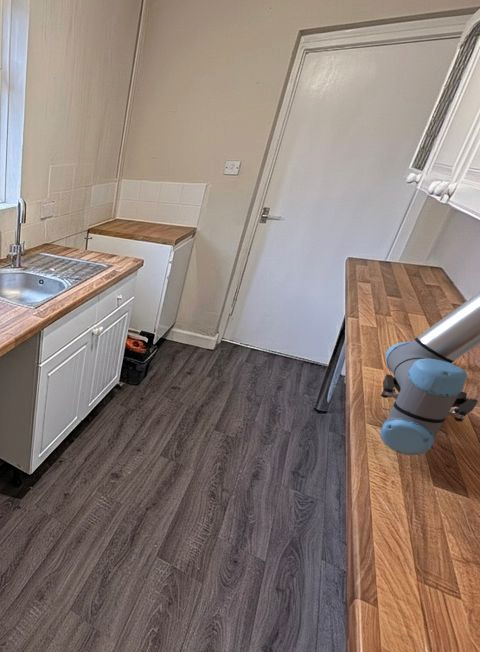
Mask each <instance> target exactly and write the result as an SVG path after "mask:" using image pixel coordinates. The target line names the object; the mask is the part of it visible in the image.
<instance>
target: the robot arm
mask: <svg viewBox="0 0 480 652" xmlns="http://www.w3.org/2000/svg"><path fill="white" fill-rule="evenodd" d="M423 332H424V333H422V332H421V333H422V334H421V333H420V335H418V336H417V337H415V338H414V339H413V340H410V341H403V342H398V343H394V344H393V345H391V346H390V347H389V348H388V349H387V350H386V352H385V361H386V367H387V368H388V370H389V371H390V372H391V373H392V375H391V374H389V373H388V374H385V376H384V379H383V381H382V392H381V394H380V397H381V398H384V399H388V398H390V399H391V398H393V399H394V400H395V401H394V402H393V405H392V407H391V409H390V411H389V413H388V415H387V417H386V419H385V421H384V422H383V423H382V425H381V428H380V439H381V441H382V442H383V444H384V445H385V446H386V447H388V448H389V449H391V450H392V451H394V452H395V453H397V454H401V455H405V456H421V455H423V454H425V453H427V452H428V451H430V449H432V447H433V446H434V444H435V441H436V437H437V436H438V434H439V432H440V430H441V428H442V427H443V424H444V422H445V420H446V419H447V416H449V417H451V418H453V419H454V420H455V422H459V423H463V421H464V419H465V418H466V416H467V415H468V414H469V413H471V412H472V411H473V410H474V409H475V407H476V405H477V404H478V402H479V400H478V399H476V398H468V397H467V396H468V393H467V392H464V391H463V390H464V387H465V384H466V380H467V378H468V374H467V372H466V370H465V369H463V368H462V367H460V366H457V365H456V364H454V362H455V361H456V360H458V359H460V358H461V357H463V356H464V355H466V354H467V353H469V352H470V351H472V350H474V349H475V348H476V347H478V346H480V291H479V292H477V293H476V294H475V295H472V297H470V298H469V299H467V300H466V301H464V302H463V303H462V304H461V305H459V306H458V307H456V308H455V309H453V310H452V311H451V312H449V313H448V314H447V315H446V316H444V317H443V318H441V319H440V320H439V321H437V322H436V323H434V324H433V325H431V327H429V328H428V329H426V330H424V331H423ZM397 392H398V393H397ZM453 408H454V409H453Z"/></svg>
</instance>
